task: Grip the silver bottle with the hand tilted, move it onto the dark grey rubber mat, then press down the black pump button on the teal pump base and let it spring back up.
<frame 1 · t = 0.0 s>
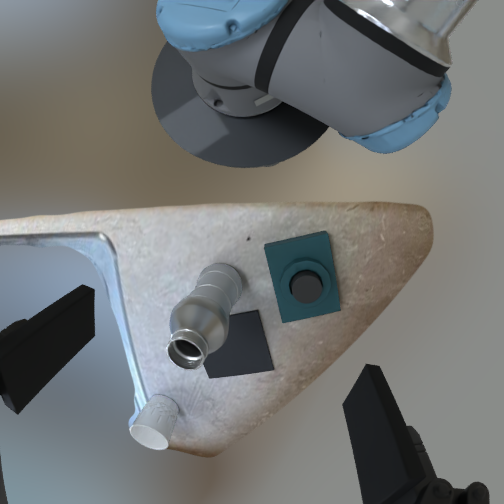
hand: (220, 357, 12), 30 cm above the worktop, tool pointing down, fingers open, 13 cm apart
teal pump base: (303, 275, 42), on the worktop
white cup: (164, 404, 52), on the worktop
silver bottle: (222, 279, 44), on the worktop
pump button: (306, 287, 38), point 5 cm above the worktop, slide at 0.1 cm
mat: (231, 347, 46), on the worktop
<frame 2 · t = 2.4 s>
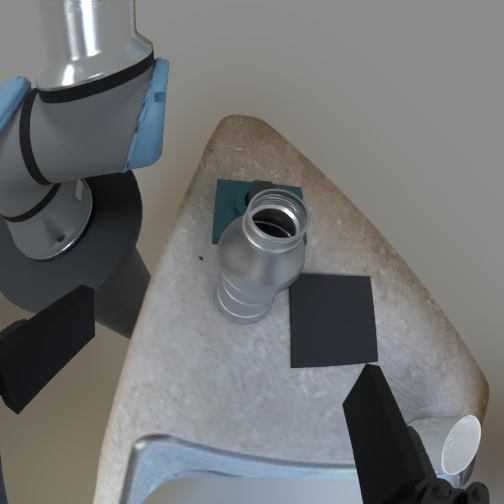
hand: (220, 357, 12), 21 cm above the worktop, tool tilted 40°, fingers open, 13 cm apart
teal pump base: (257, 217, 40), on the worktop
white cup: (414, 439, 29), on the worktop
silver bottle: (241, 302, 34), on the worktop
pump button: (263, 199, 35), point 5 cm above the worktop, slide at 0.1 cm
mat: (334, 319, 35), on the worktop
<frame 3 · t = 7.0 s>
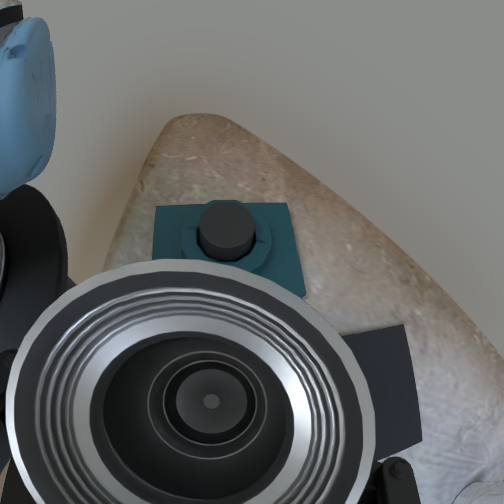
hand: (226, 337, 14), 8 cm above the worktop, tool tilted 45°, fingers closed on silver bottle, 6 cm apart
teal pump base: (224, 259, 25), on the worktop
silver bottle: (211, 401, 19), on the worktop, touching gripper
pump button: (226, 230, 21), point 5 cm above the worktop, slide at 0.1 cm
mat: (359, 401, 20), on the worktop
when the fingers open (9 cm above the worktop, at t = 14.6 s): silver bottle stays where it is, resting on mat.
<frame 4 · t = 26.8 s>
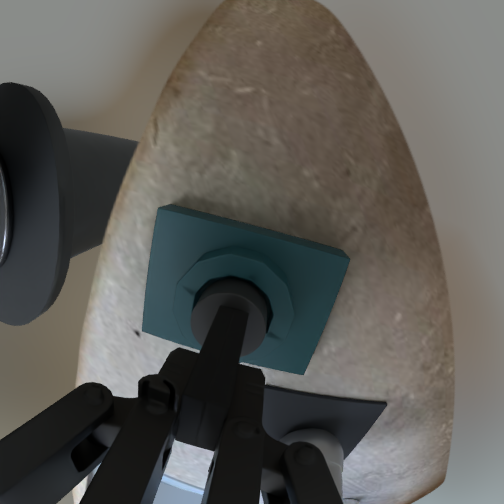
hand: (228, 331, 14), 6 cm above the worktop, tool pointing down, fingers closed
teal pump base: (239, 288, 20), on the worktop
silver bottle: (305, 438, 23), resting on mat
pump button: (230, 318, 15), point 5 cm above the worktop, slide at 0.0 cm, touching gripper
mat: (306, 435, 23), on the worktop
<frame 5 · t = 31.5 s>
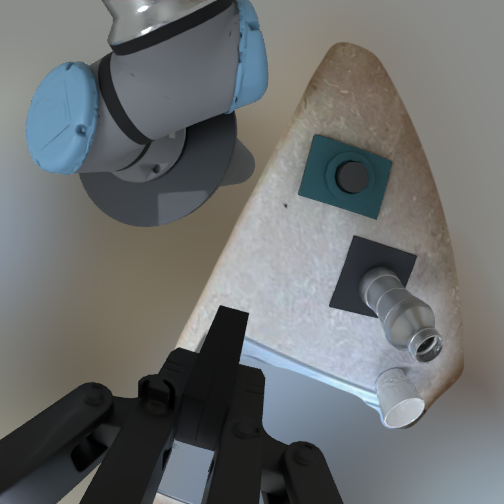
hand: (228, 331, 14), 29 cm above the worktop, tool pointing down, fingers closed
teal pump base: (344, 177, 40), on the worktop
white cup: (389, 380, 48), on the worktop
silver bottle: (374, 282, 43), resting on mat
pump button: (352, 177, 35), point 5 cm above the worktop, slide at 0.1 cm
mat: (374, 280, 43), on the worktop
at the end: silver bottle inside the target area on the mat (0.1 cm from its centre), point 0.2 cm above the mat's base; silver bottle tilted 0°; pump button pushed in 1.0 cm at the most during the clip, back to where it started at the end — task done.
